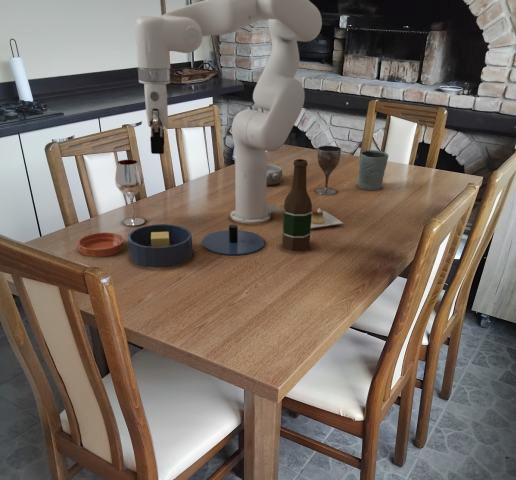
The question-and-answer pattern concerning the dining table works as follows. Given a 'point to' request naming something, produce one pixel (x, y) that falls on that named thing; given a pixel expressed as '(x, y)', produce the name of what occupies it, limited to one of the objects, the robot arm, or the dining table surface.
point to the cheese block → (160, 239)
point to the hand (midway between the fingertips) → (158, 149)
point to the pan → (160, 255)
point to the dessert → (323, 219)
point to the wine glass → (328, 164)
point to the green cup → (372, 169)
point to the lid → (233, 242)
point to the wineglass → (129, 185)
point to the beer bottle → (297, 211)
